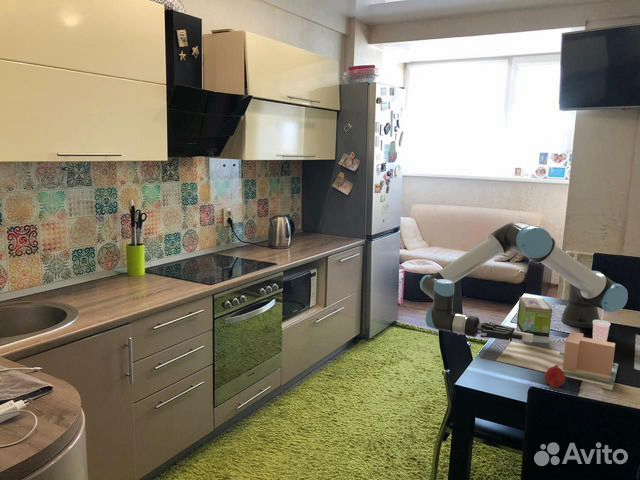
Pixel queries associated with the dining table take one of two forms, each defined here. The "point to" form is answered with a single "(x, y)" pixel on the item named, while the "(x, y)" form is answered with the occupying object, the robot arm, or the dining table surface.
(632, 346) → the dining table surface
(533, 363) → the board
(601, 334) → the beverage cup
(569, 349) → the tee
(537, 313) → the tea box
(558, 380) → the red pomegranate
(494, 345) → the dining table surface
